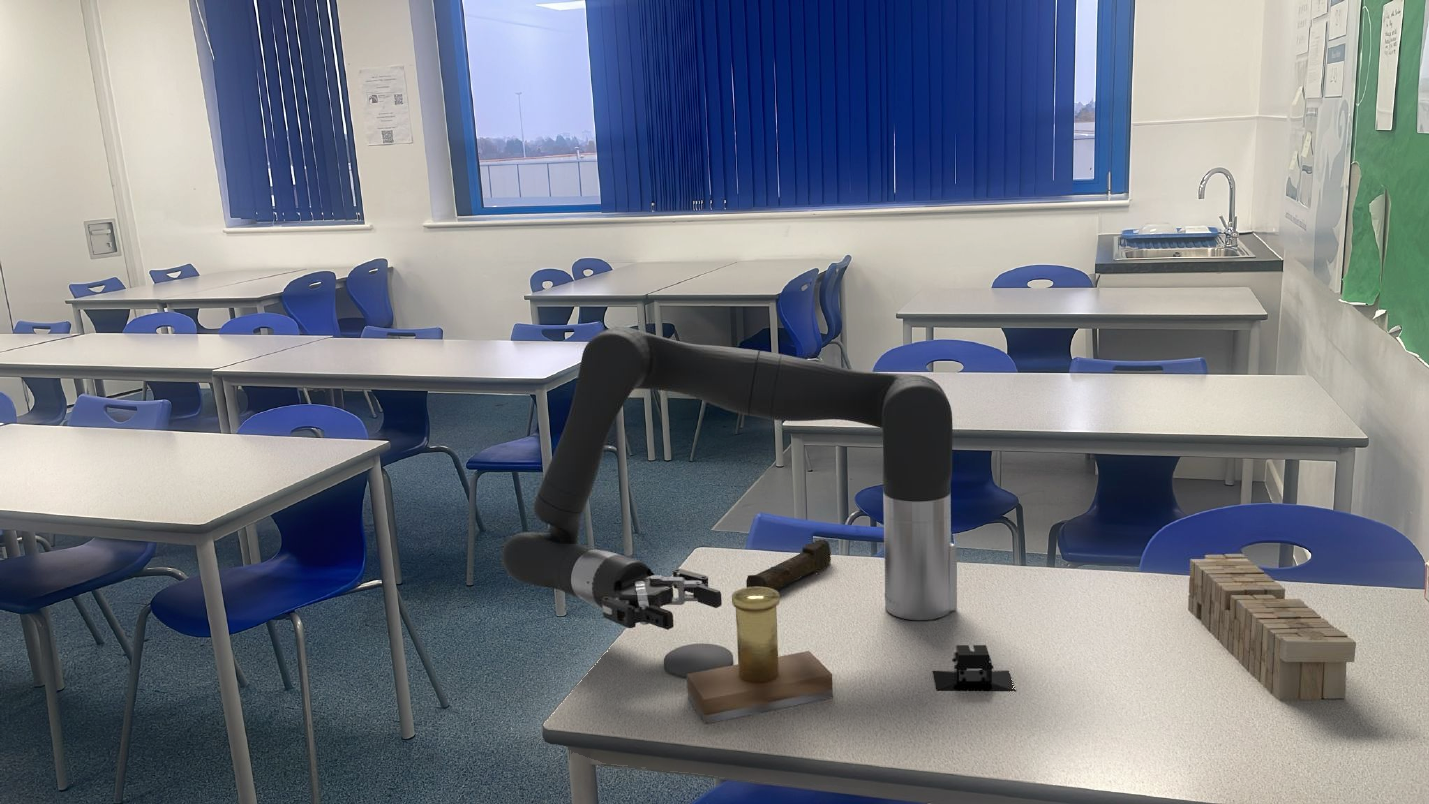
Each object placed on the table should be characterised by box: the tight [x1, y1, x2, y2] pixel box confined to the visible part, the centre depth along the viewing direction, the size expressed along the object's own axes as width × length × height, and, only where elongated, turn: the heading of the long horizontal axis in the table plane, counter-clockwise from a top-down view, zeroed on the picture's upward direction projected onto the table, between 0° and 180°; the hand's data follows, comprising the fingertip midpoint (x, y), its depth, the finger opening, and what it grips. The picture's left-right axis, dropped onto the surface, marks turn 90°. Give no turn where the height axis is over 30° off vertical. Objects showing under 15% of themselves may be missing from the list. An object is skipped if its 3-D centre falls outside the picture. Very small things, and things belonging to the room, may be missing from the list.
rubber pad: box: [663, 643, 734, 679], centre depth 138 cm, size 9×9×1 cm
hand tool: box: [745, 539, 832, 591], centre depth 164 cm, size 19×4×5 cm, turn 135°
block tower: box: [1187, 553, 1357, 701], centre depth 134 cm, size 8×8×29 cm
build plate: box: [932, 644, 1018, 693], centre depth 129 cm, size 12×7×5 cm, turn 84°
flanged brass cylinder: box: [731, 586, 780, 683], centre depth 127 cm, size 6×6×10 cm
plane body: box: [686, 650, 834, 725], centre depth 128 cm, size 16×7×3 cm, turn 108°
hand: (696, 610), depth 134 cm, fingers open, 8 cm apart
